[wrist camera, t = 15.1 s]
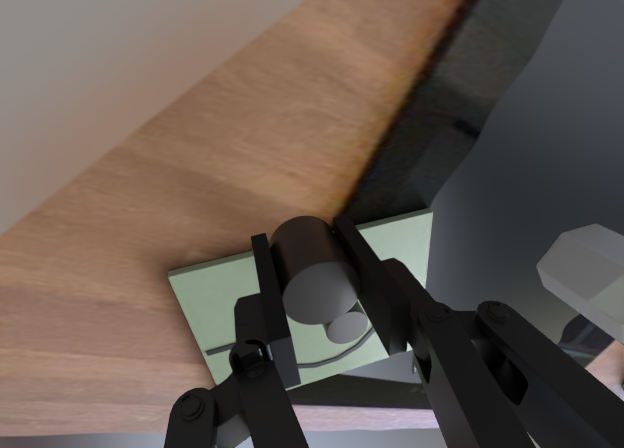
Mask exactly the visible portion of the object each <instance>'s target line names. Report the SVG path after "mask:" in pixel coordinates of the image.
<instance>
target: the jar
mask: <svg viewBox="0 0 624 448" xmlns="http://www.w3.org/2000/svg"><path fill="white" fill-rule="evenodd" d="M536 268H537V271H538V273H539V276H540V279H541V281H542V284H543V286H544V287H545V288H546V289H548V290H549V291H551V292H552V293H553V294H555V295H556V296H557V297H559V298H560V299H561V300H563V301H564V302H566V303H567V304H568V305H570V306H571V307H572V308H574V309H575V310H576V311H578V312H579V313H581V314H582V315H583V316H585V317H586V318H587V319H589V320H590V321H591V322H593V323H594V324H596V325H597V326H598V327H600V328H601V329H602V330H604V331H605V332H606V333H608V334H609V335H611V336H612V337H613V338H615V339H616V340H617V341H619V342H620V343H621V344H623V345H624V236H622V235H620V234H618V233H616V232H614V231H612V230H610V229H607V228H605V227H603V226H601V225H599V224H596V223H593V224H590V225H587V226H583V227H580V228H576V229H573V230H570V231H566V232H563V233H561V234H560V235H559V236H558V238H557V239H556V240H555V242H554V243H553V244H552V246H551V247H550V248H549V249H548V251H547V252H546V253H545V254H544V256H543V257H542V258H541V259H540V260H539V262H538V263H537V264H536Z"/></svg>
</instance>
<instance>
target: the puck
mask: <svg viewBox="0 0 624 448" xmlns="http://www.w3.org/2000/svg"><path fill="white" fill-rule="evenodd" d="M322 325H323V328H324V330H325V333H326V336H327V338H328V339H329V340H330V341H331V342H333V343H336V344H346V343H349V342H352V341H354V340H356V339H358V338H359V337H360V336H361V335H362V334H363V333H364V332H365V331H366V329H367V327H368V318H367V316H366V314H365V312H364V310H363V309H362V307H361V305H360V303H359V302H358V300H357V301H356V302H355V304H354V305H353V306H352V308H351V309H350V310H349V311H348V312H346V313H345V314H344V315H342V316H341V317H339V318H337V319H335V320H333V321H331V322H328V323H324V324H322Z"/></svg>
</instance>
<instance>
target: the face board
mask: <svg viewBox="0 0 624 448" xmlns="http://www.w3.org/2000/svg"><path fill="white" fill-rule="evenodd" d="M432 217H433V212H432V211H431V210H430V209H429V208H426V209H422V210H418V211H414V212H410V213H406V214H401V215H397V216H393V217H389V218H385V219H381V220H377V221H373V222H368V223H364V224H360V225H356V228H357V229H358V231H359V232H360V233H361V235H362V236H363V237H364V239H365V240H366V241H367V243H368V244H369V245H370V247H371V248H372V249H373V251H374V252H375V254H376V255H377V256H378V258H379V259H380V260H381V261H382V260H385V259H389V258H393V257H394V258H396V259H397V260H399V261H401V262H403V263H404V264H405V265H406V267H407V268H408V269H409V270H410V272H411V273H412V274H413V275H414V276H415V278H416V279H417V280H418V281H419V282H420V283H421V285H422V286H423V287H424V288H425V284H426V274H427V265H428V255H429V245H430V236H431V227H432ZM333 232H334V231H333ZM168 279H169V282H170V284H171V286H172V288H173V290H174V293H175V295H176V297H177V299H178V301H179V304H180V306H181V308H182V310H183V312H184V315H185V317H186V319H187V321H188V324H189V326H190V328H191V330H192V332H193V335H194V337H195V339H196V341H197V343H198V346H199V348H200V350H201V352H202V354H203V357H204V359H205V361H206V363H207V365H208V368H209V370H210V372H211V374H212V376H213V379H214V381H215V383H216V385H218V384H220V383H221V382H223V381H224V380H225V379H227V378H228V376H229V375H230V374H231V373H232V369H231V366H230V364H229V353H230V351H231V348H232V347H233V346H234V345H235V344H236V337H235V321H234V320H235V319H234V306H235V304H236V302H237V299H238V298H240V297H244V296H248V295H252V294H256V293H260V289H259V283H258V277H257V271H256V265H255V259H254V253H253V251H249V252H245V253H241V254H236V255H232V256H228V257H224V258H220V259H216V260H212V261H208V262H203V263H199V264H195V265H191V266H187V267H183V268H179V269H175V270H170V271H169V272H168ZM357 300H358V299H357ZM358 302H359V300H358ZM359 303H360V302H359ZM360 305H361V304H360ZM361 307H362V306H361ZM362 309H363V307H362ZM363 310H364V309H363ZM364 312H365V311H364ZM365 314H366V313H365ZM286 316H287V315H286ZM366 316H367V315H366ZM367 318H368V317H367ZM287 320H288V324H289V328H290V332H291V336H292V341H293V346H294V350H295V355H296V360H297V365H298V369H299V374H300V379H301V384H300V385H297V386H293V387H290V388H287V389H285V390H289V389H292V388H295V387H298V386H301V385H304V384H308V383H311V382H314V381H317V380H320V379H323V378H326V377H329V376H332V375H335V374H338V373H341V372H344V371H347V370H351V369H354V368H357V367H360V366H363V365H366V364H369V363H372V362H375V361H378V360H381V359H385V358H388V357H389V355H388V354H387V352H386V350H385V348H384V346H383V344H382V343H381V341H380V339H379V337H378V335H377V333H376V331H375V330H374V328H373V326H372V324H371V322H370V320H369V319H368V327H367V329H366V331H365V332H364V333H363V334H362V335H361V336H360V337H359V338H358V339H356V340H354V341H352V342H349V343H346V344H336V343H333V342H331V341H330V340H329V339H328V338H327V336H326V333H325V330H324V328H323V325H322V324H319V325H306V324H301V323H298V322H296V321H294V320H292V319H291V318H289V317H288V316H287ZM409 350H412V348H411V346H410V345H409V343H408V344H407V351H409ZM399 354H400V353H399ZM396 355H397V354H396ZM393 356H394V355H393Z"/></svg>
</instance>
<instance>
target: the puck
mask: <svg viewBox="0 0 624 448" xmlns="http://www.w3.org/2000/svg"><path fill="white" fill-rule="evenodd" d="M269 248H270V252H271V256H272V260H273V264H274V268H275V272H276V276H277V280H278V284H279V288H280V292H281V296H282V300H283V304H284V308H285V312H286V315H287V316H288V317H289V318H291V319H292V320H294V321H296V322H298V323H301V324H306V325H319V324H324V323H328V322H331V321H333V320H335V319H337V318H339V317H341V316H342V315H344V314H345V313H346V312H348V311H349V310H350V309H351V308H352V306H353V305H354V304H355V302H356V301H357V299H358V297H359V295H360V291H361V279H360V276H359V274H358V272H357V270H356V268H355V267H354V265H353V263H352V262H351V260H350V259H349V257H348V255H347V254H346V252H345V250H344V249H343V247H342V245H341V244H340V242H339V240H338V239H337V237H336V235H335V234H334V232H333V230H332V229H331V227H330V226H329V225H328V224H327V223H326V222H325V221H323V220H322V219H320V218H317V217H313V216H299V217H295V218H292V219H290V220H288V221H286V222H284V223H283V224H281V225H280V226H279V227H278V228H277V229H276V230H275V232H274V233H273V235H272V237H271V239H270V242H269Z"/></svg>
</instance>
